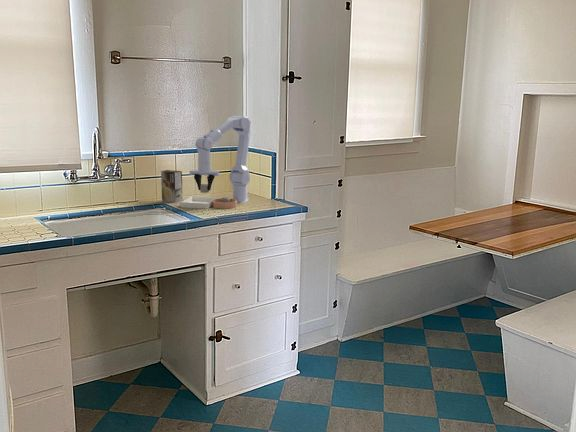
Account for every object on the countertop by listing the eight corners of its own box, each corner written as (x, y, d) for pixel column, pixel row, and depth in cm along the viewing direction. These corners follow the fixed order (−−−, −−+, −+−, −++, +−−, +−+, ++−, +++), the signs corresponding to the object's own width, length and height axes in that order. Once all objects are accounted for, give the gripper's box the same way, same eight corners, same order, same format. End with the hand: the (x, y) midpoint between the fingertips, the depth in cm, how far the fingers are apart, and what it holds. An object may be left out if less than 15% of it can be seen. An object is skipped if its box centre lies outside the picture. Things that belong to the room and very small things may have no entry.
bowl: (216, 204, 311) (216, 197, 310) (239, 205, 309) (239, 198, 308) (209, 209, 300) (209, 202, 299) (233, 210, 298) (233, 203, 297)
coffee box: (183, 201, 317) (182, 170, 313) (175, 203, 311) (174, 172, 308) (169, 200, 321) (168, 169, 317) (161, 202, 315) (160, 170, 312)
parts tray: (192, 201, 317) (192, 196, 317) (217, 203, 315) (217, 197, 314) (180, 208, 300) (180, 202, 299) (207, 209, 298) (207, 203, 297)
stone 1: (201, 191, 304) (201, 183, 303) (209, 191, 303) (209, 184, 302) (199, 192, 300) (198, 185, 299) (207, 192, 299) (207, 185, 298)
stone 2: (222, 204, 309) (222, 197, 308) (231, 204, 308) (230, 197, 308) (220, 205, 305) (220, 198, 304) (229, 206, 304) (229, 199, 303)
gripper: (187, 162, 296) (187, 190, 298) (216, 163, 293) (216, 192, 296) (191, 161, 302) (192, 188, 305) (220, 162, 300) (220, 189, 303)
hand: (204, 190), depth 301 cm, fingers closed on stone 1, 4 cm apart
